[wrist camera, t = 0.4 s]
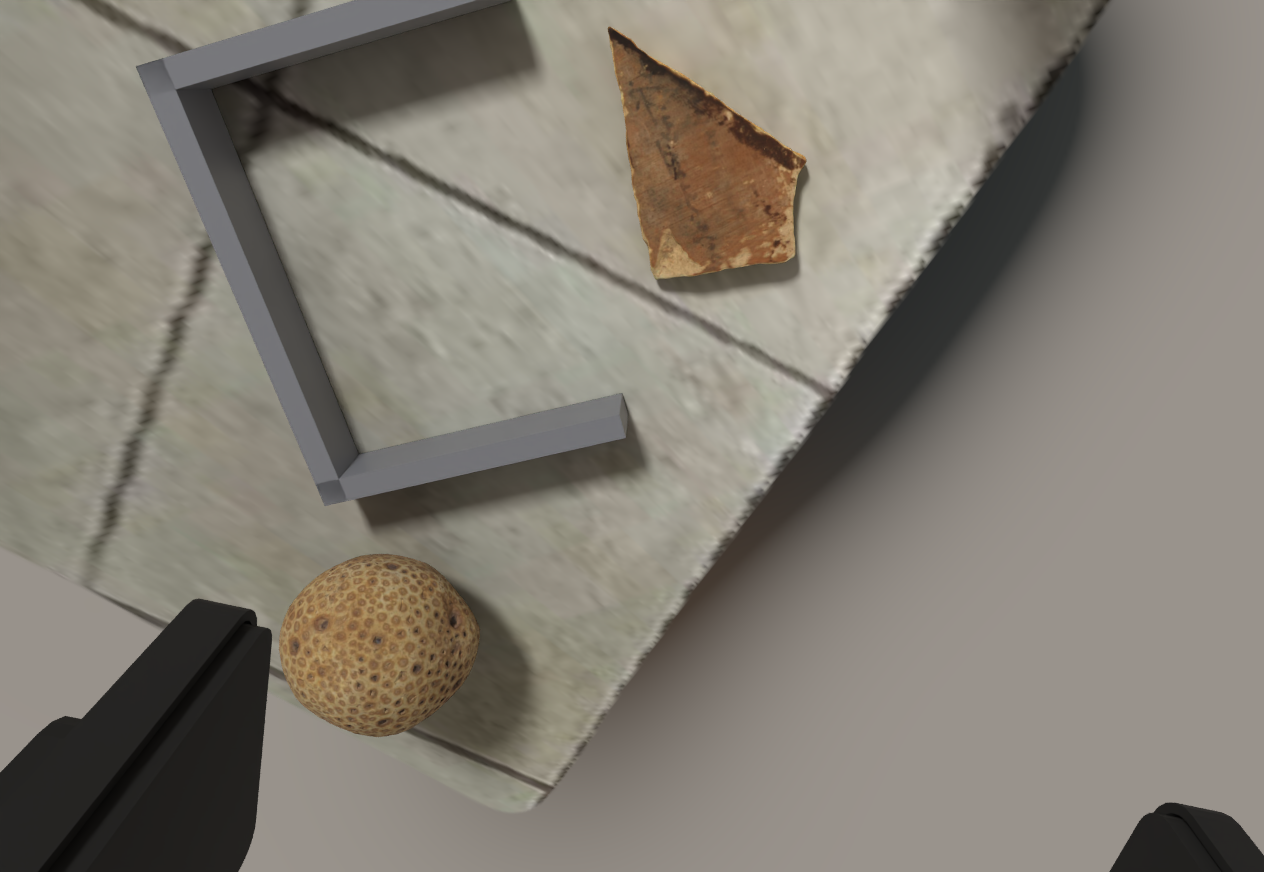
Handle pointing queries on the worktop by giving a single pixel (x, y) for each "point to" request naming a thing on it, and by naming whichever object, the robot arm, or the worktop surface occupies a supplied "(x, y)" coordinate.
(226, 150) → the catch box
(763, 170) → the shard
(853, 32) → the worktop surface
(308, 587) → the natural sponge
